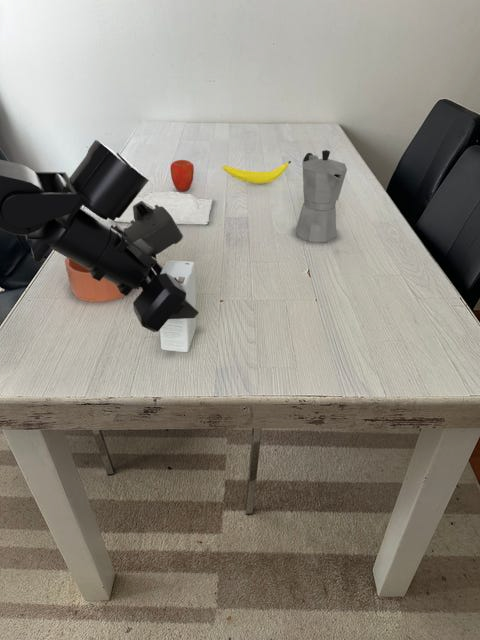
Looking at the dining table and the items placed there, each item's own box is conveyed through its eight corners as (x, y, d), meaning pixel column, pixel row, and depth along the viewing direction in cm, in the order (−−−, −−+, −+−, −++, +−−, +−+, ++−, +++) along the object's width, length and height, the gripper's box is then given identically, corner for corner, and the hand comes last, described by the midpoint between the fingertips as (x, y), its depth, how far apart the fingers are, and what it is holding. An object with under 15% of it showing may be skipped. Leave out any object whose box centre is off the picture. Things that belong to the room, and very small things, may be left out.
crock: (76, 308, 74) (68, 280, 71) (68, 276, 82) (61, 249, 79) (142, 294, 78) (138, 267, 74) (128, 264, 86) (124, 239, 83)
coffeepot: (349, 244, 94) (364, 158, 84) (309, 250, 92) (319, 162, 81) (317, 216, 106) (326, 137, 95) (280, 220, 104) (286, 140, 93)
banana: (221, 181, 124) (221, 158, 121) (288, 182, 125) (290, 159, 121) (221, 185, 122) (221, 162, 118) (289, 185, 123) (291, 162, 119)
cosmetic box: (170, 326, 69) (164, 258, 62) (198, 329, 69) (195, 260, 62) (160, 351, 64) (152, 280, 57) (190, 354, 64) (186, 283, 57)
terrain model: (122, 203, 113) (119, 184, 110) (212, 198, 115) (210, 178, 112) (113, 230, 100) (108, 209, 97) (214, 224, 101) (213, 203, 98)
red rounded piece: (198, 191, 118) (197, 163, 114) (176, 195, 116) (174, 166, 111) (189, 184, 123) (188, 156, 118) (168, 187, 120) (166, 159, 116)
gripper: (162, 223, 45) (254, 291, 55) (117, 169, 58) (197, 232, 69) (96, 305, 46) (197, 356, 57) (67, 234, 60) (153, 286, 70)
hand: (186, 301), depth 63 cm, fingers closed on cosmetic box, 7 cm apart
